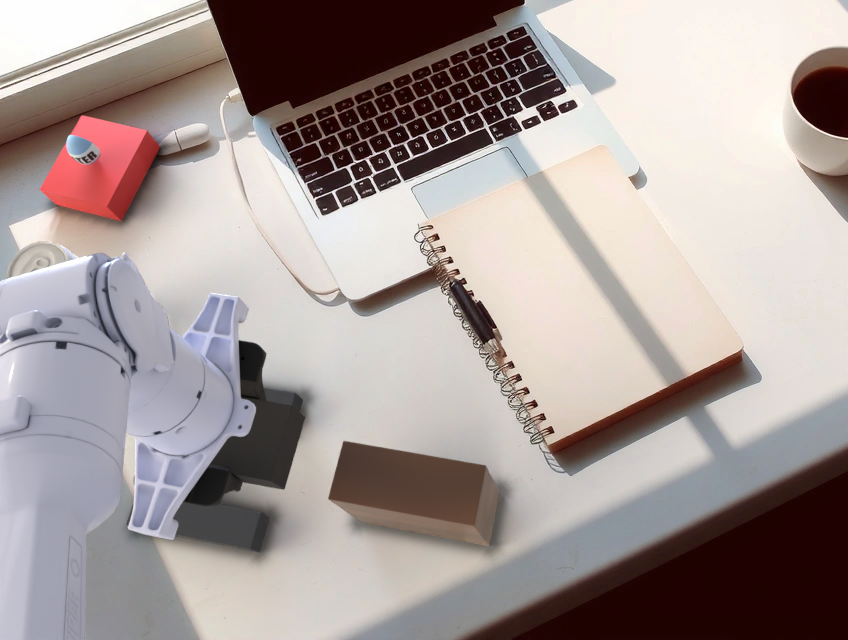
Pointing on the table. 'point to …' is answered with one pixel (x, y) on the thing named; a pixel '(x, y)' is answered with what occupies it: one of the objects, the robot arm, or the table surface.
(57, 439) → the robot arm
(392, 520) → the brown wooden brick
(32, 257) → the beverage can
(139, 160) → the red slab
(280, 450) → the black pad
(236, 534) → the base pad
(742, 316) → the table surface
